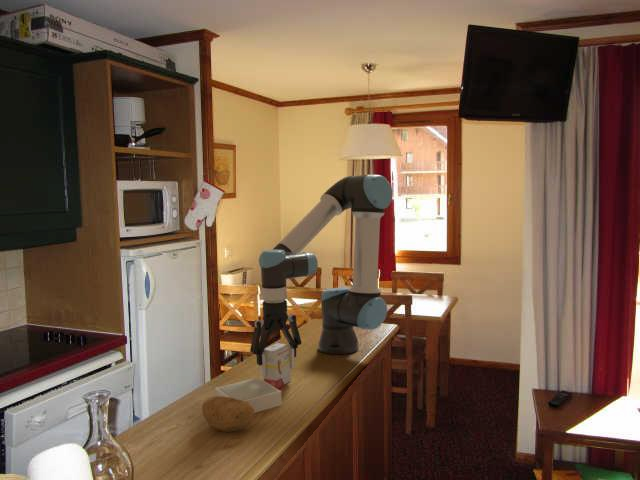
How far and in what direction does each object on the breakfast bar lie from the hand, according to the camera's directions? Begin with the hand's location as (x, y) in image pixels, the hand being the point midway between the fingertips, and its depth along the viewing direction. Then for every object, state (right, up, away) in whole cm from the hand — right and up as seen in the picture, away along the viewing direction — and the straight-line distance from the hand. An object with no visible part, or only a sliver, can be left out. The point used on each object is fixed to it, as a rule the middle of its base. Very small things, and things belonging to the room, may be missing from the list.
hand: (277, 371), depth 164 cm
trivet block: (-7, -6, -14) cm, 17 cm away
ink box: (0, -4, 0) cm, 4 cm away
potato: (-10, -8, -30) cm, 32 cm away
